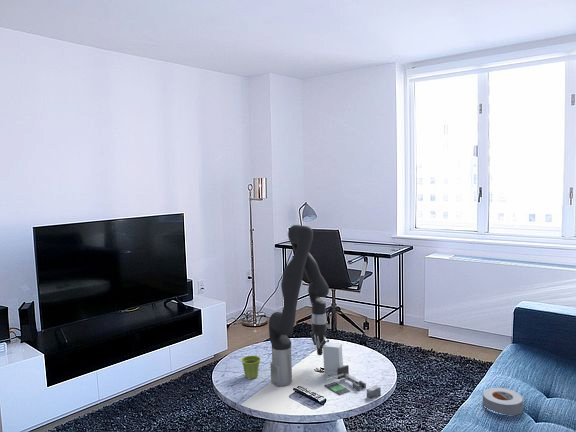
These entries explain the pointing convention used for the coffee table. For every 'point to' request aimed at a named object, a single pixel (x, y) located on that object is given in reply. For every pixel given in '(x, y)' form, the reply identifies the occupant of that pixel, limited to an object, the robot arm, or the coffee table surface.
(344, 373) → the grey l-shaped bracket
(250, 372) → the plant pot
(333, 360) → the skincare box
